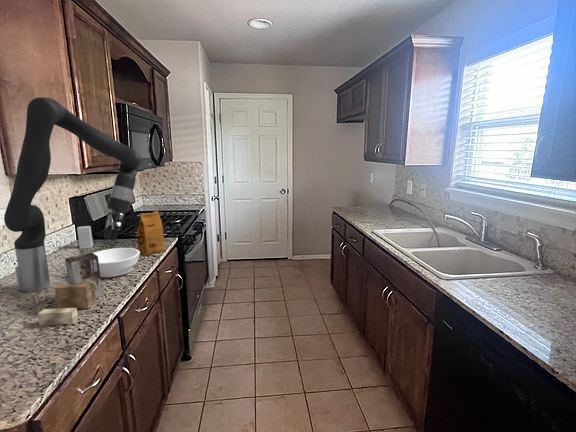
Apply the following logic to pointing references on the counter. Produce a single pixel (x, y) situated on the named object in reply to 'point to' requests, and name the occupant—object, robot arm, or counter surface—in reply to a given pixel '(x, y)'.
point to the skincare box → (85, 237)
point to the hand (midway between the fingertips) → (109, 239)
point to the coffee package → (150, 233)
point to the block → (74, 296)
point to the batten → (57, 316)
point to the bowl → (117, 261)
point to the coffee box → (85, 272)
